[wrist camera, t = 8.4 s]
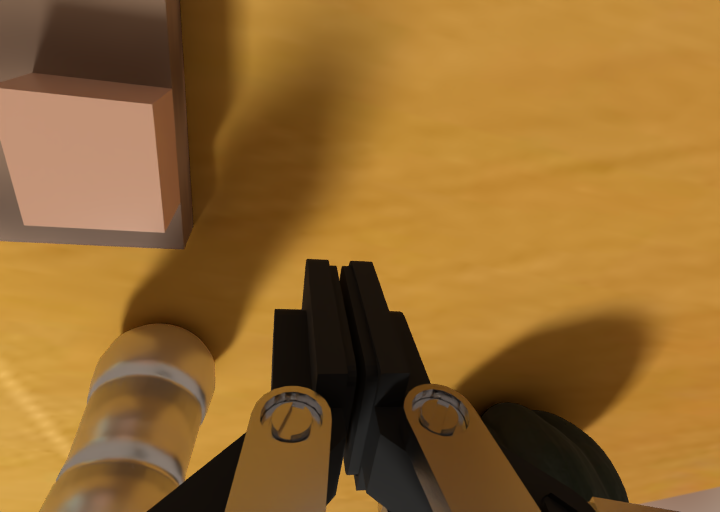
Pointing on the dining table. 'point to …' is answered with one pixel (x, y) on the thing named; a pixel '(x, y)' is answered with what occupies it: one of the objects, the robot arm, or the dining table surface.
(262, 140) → the dining table surface
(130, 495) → the plastic bottle
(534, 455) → the squash
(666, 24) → the dining table surface
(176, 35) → the board
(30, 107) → the tile
